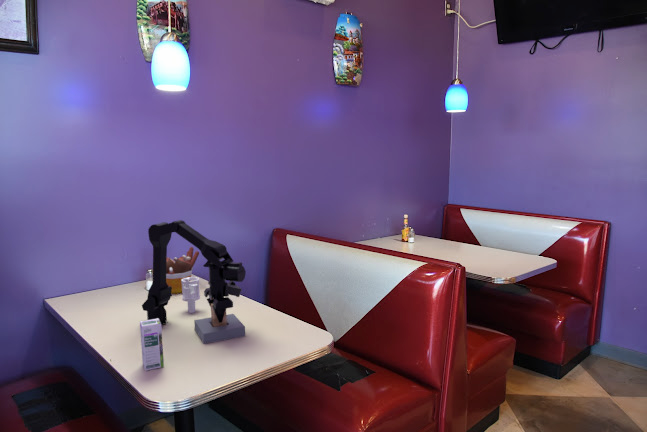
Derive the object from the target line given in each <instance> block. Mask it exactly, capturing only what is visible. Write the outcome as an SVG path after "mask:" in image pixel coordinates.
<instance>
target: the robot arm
mask: <svg viewBox="0 0 647 432" xmlns="http://www.w3.org/2000/svg"><path fill="white" fill-rule="evenodd" d="M147 230H148V233H147V234H148V239H149V240H148V241H149V242H150V244H151V245H152V247H153V248H152V283H151V285H150V288H149V289H148V292H147V299H146V300H145V301H144V302H143V303H142V305H141V306H142V310H143V311H145V312H146V317H147V319H146V320H151V319H156V318H158V319H159V320H160V322H161V326H162V325H166V324H167V318H168V317H167V316H168V315H167V309H165V307H166V306H167V305H169V304H168V303H169V301H170V300H171V297H173V294H171V290H172V287H171V286H168V284H167V283H166V263H167V254H168V253H167V252H168V245H169V242H170V241H171V239H172V233H176V234H177V235H179V236H180V237H182V239H183V240H186V241H187V242H189V243H190V244H192V245H193V246H194V247H195V248H197V249H198V251H199V252H200V253H201V255H202V257H204V259H206V262H205V263H204V264H203V265H202V266H203V268H208V276H209V279H208V280H209V281H207V284H208V285H209V287H207V288H205V289H204V291H203V292H204V293H203V295H204V297H205V298H206V301H207V303H208V304H209V307H210V308H211V304H212V303H213V306H212V307H213V309H214V312H215V314H216V316H217V319H218V321H219V323H220V322H222V321H223V317H224V313H225V310H226V311H227V309H232V308H233V307H234V301H233V300H232V299H231V298H230V297H229V295H230V296H234V297H236V298H240V295H241V293H242V290H243V289H242V288H241V286H239V285H238V284H236V282H238V283H242V282H243V281H244V280H245V277H246V272H247V271H246V269H245V267H244V265H243V263H242V262H241V261H238V262H234V259H233V258H232V257H231V255H230V254H229V252H228V249H227V246H226V245H224V244H222V243H221V242H218V241H215V240H212V239H209V238H207V237H206V236H205V235H203V234H202V233H200V232H199V231H197V230H195V229H194V228H193V227H191V226H190V225H189V224H187V223H186V222H185V220H182V219H179V220H178V219H177V220H174V221H172V222H169V223H168V222H166V221H165V222H164V221H163V222H160V223H155V224H151V225H150V226H149V227H148V229H147ZM228 281H229V282H228Z"/></svg>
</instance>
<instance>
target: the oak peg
mask: <svg viewBox="0 0 647 432" xmlns="http://www.w3.org/2000/svg"><path fill="white" fill-rule="evenodd" d="M212 306H213V303H212V304H211V307H210V315H211V316H210V317H211V322H212V327H218V326H224V325H227V319H226V315H227V309H226V310H225V313H224V317H223V321H222V322H220V323H219V321H218V319H217V316H216V314H215V312H214V309H213V307H212Z"/></svg>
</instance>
